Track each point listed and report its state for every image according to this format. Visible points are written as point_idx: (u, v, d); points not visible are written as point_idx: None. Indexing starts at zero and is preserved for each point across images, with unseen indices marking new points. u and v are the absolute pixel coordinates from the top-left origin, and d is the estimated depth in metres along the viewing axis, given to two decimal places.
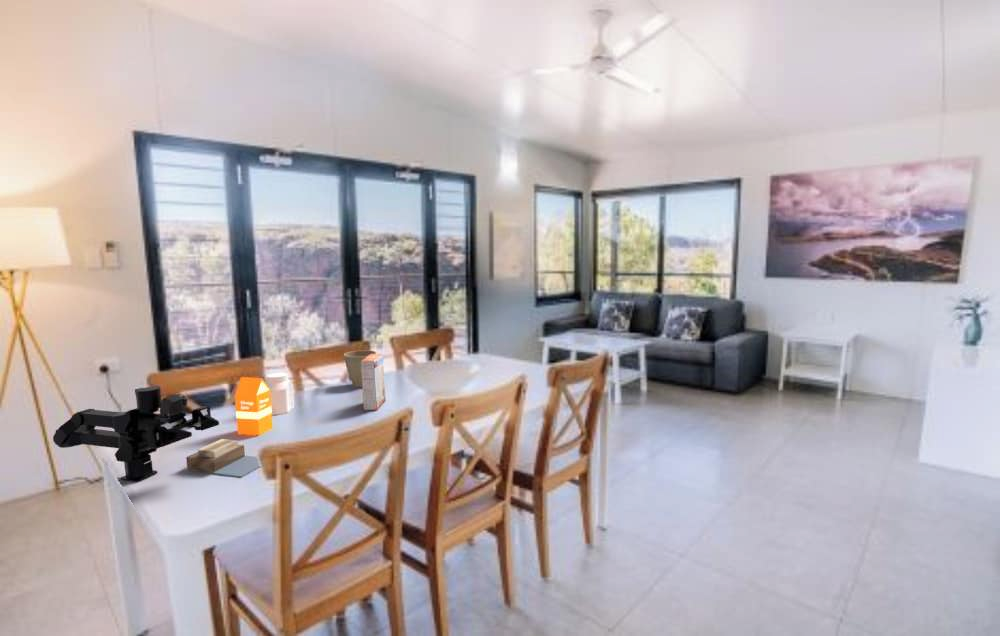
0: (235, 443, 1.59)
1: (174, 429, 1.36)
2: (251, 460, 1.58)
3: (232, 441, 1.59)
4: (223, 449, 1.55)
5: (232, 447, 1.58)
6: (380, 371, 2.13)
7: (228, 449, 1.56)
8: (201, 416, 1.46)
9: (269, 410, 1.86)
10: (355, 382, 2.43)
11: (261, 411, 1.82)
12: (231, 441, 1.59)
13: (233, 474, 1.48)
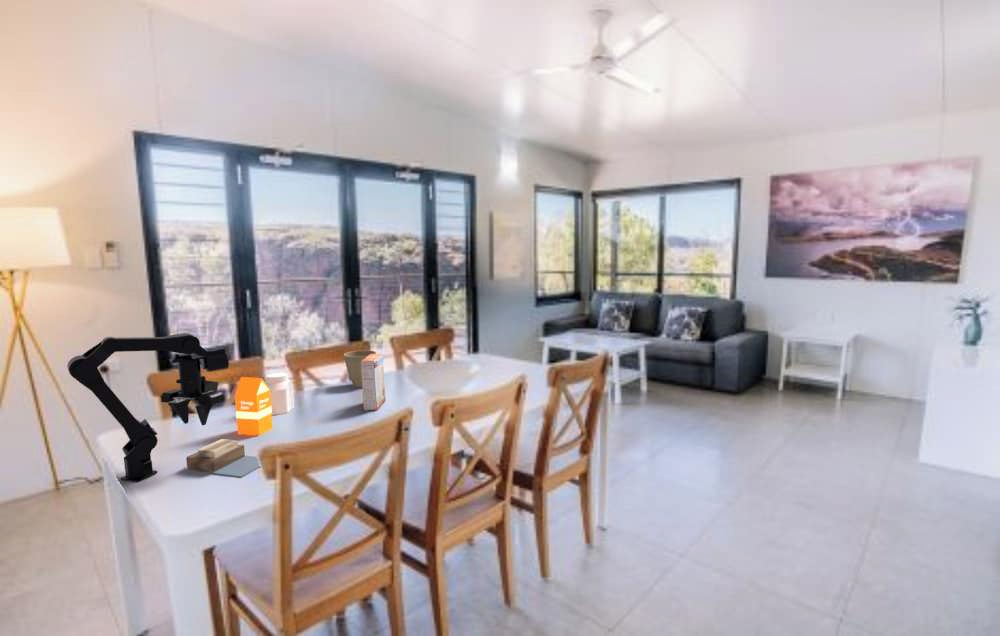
0: (235, 443, 1.59)
1: None
2: (251, 460, 1.58)
3: (232, 441, 1.59)
4: (223, 449, 1.55)
5: (232, 447, 1.58)
6: (380, 371, 2.13)
7: (228, 449, 1.56)
8: (187, 402, 1.59)
9: (269, 410, 1.86)
10: (355, 382, 2.43)
11: (261, 411, 1.82)
12: (231, 441, 1.59)
13: (233, 474, 1.48)
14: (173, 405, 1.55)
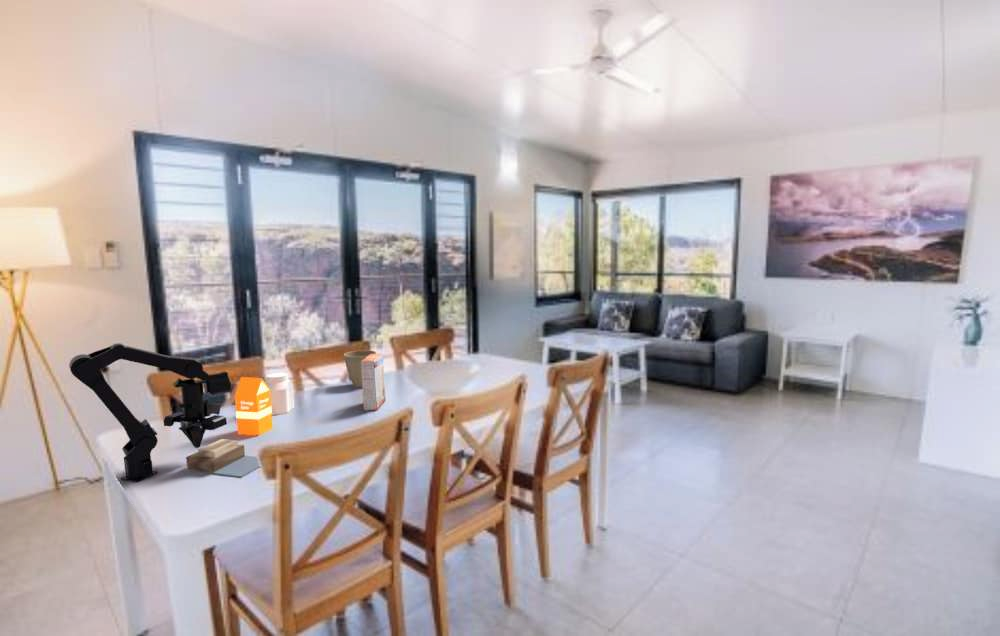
0: (235, 443, 1.59)
1: None
2: (251, 460, 1.58)
3: (232, 441, 1.59)
4: (223, 449, 1.55)
5: (232, 447, 1.58)
6: (380, 371, 2.13)
7: (228, 449, 1.56)
8: None
9: (269, 410, 1.86)
10: (355, 382, 2.43)
11: (261, 411, 1.82)
12: (231, 441, 1.59)
13: (233, 474, 1.48)
14: (184, 430, 1.55)
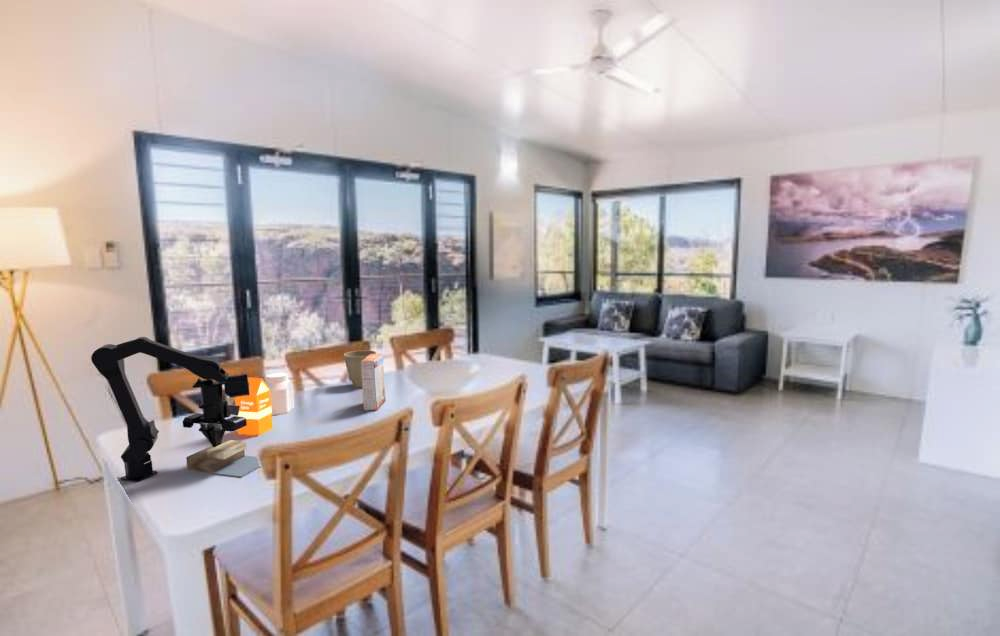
0: (244, 444, 1.58)
1: None
2: (251, 460, 1.58)
3: (241, 442, 1.58)
4: (232, 451, 1.54)
5: (241, 448, 1.57)
6: (380, 371, 2.13)
7: (237, 450, 1.55)
8: None
9: (269, 410, 1.86)
10: (355, 382, 2.43)
11: (262, 411, 1.82)
12: (240, 442, 1.58)
13: (233, 474, 1.48)
14: (204, 431, 1.53)
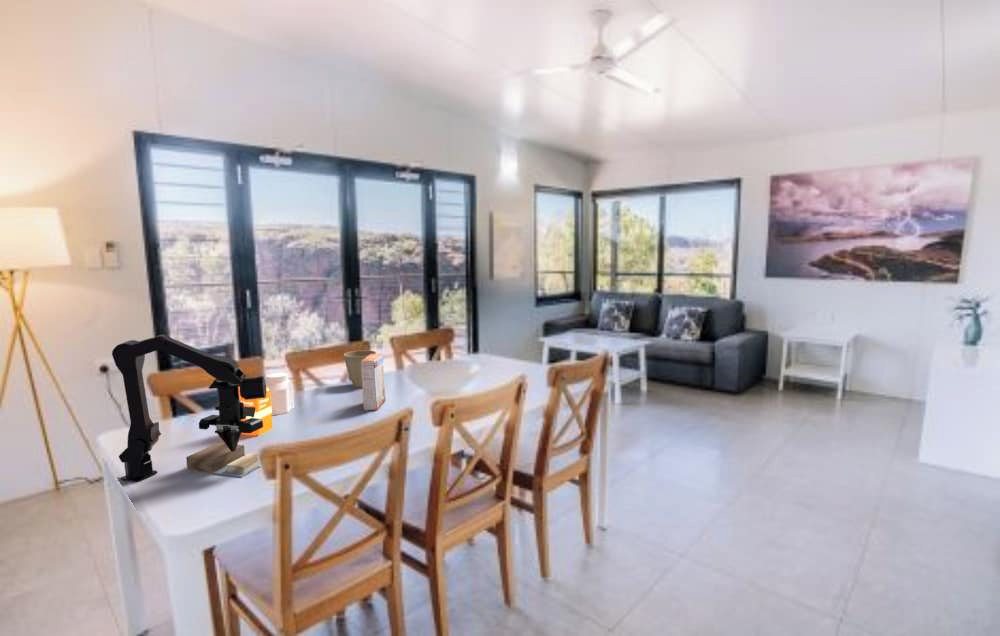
0: None
1: None
2: None
3: None
4: None
5: None
6: (380, 371, 2.13)
7: None
8: None
9: (269, 410, 1.86)
10: (355, 382, 2.43)
11: (261, 411, 1.82)
12: None
13: (233, 474, 1.48)
14: (220, 433, 1.52)
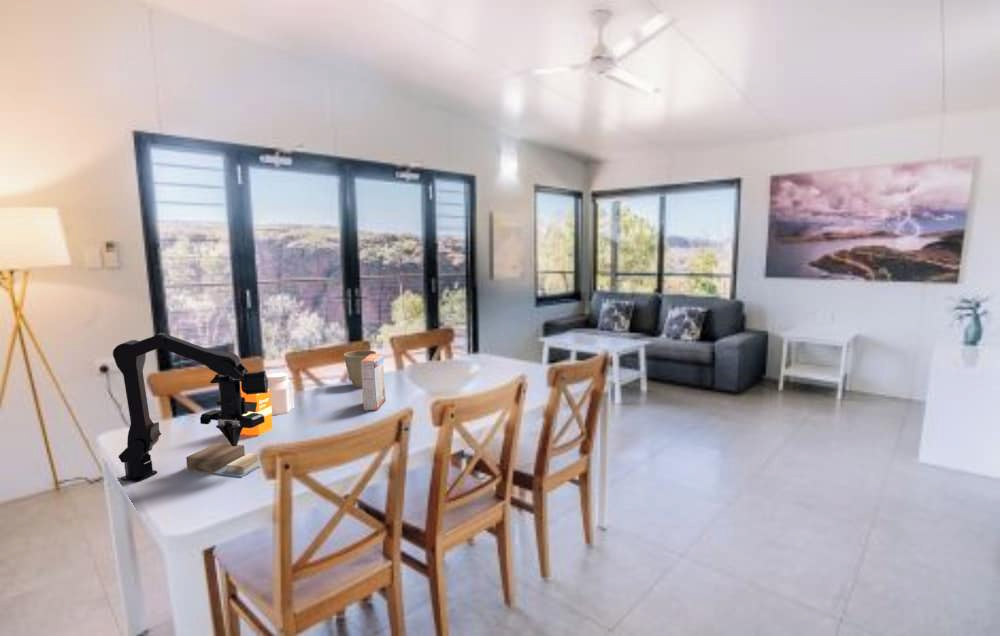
0: None
1: None
2: None
3: None
4: None
5: None
6: (380, 371, 2.13)
7: None
8: None
9: (269, 410, 1.86)
10: (355, 382, 2.43)
11: (261, 411, 1.82)
12: None
13: (233, 474, 1.48)
14: (221, 428, 1.51)
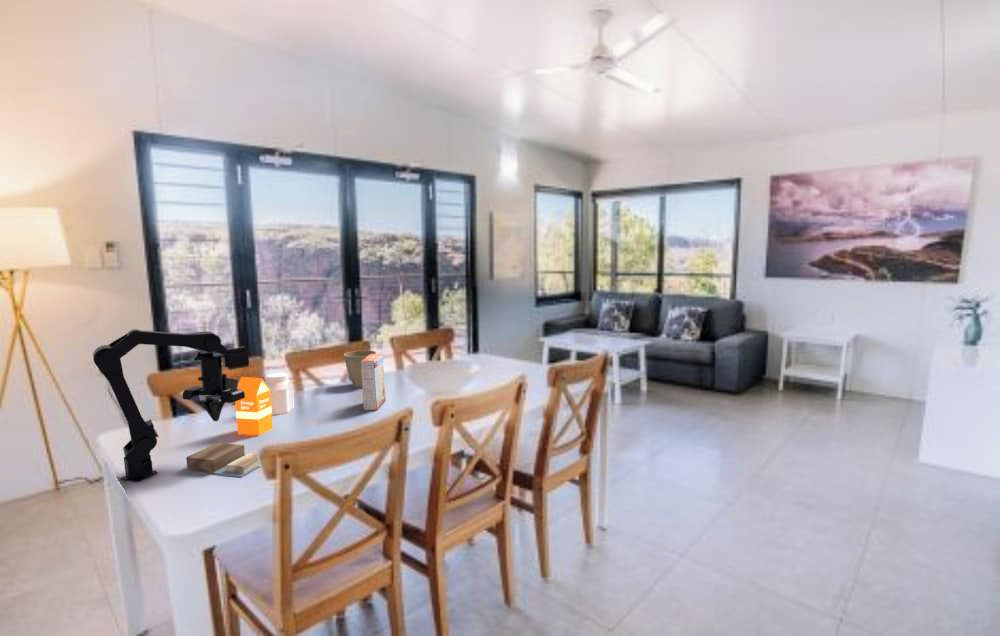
0: None
1: None
2: None
3: None
4: None
5: None
6: (380, 371, 2.13)
7: None
8: None
9: (269, 410, 1.86)
10: (355, 382, 2.43)
11: (262, 411, 1.82)
12: None
13: (233, 474, 1.48)
14: (203, 403, 1.57)
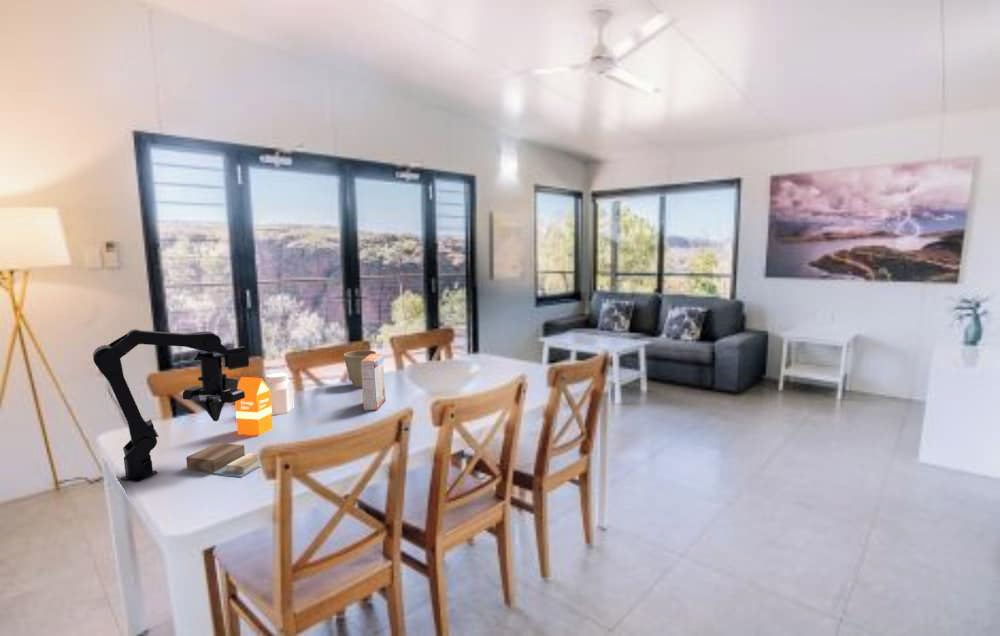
0: None
1: None
2: None
3: None
4: None
5: None
6: (380, 371, 2.13)
7: None
8: None
9: (269, 410, 1.86)
10: (355, 382, 2.43)
11: (262, 411, 1.82)
12: None
13: (233, 474, 1.48)
14: (203, 403, 1.57)
